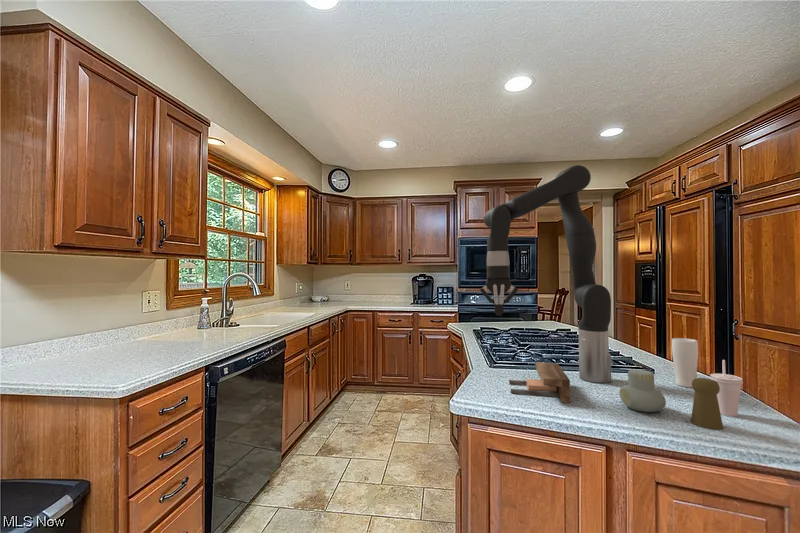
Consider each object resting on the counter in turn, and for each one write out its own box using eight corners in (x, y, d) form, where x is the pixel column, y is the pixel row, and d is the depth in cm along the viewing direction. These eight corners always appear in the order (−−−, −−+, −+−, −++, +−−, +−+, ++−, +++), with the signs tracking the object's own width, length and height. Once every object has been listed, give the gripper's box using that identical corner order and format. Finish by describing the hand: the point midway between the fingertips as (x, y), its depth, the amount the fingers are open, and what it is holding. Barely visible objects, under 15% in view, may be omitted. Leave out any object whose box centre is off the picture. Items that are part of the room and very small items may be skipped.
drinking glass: (699, 385, 117) (698, 339, 117) (698, 390, 112) (697, 342, 112) (674, 381, 121) (672, 337, 122) (671, 385, 116) (670, 339, 117)
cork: (729, 430, 83) (728, 383, 83) (700, 428, 84) (698, 382, 84) (712, 420, 89) (711, 376, 89) (685, 418, 90) (683, 375, 90)
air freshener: (670, 417, 91) (669, 378, 91) (634, 415, 92) (633, 376, 92) (648, 402, 102) (647, 367, 102) (616, 401, 103) (615, 366, 103)
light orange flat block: (552, 388, 115) (552, 380, 115) (556, 395, 108) (556, 387, 108) (526, 386, 117) (526, 378, 117) (528, 393, 110) (528, 385, 110)
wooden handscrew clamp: (557, 382, 121) (557, 363, 121) (570, 403, 101) (569, 380, 102) (508, 379, 125) (508, 360, 125) (511, 398, 105) (511, 376, 106)
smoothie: (704, 409, 96) (702, 357, 96) (726, 408, 96) (724, 356, 97) (728, 419, 89) (726, 363, 90) (751, 418, 90) (749, 362, 90)
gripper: (517, 264, 124) (518, 314, 124) (478, 265, 127) (479, 314, 127) (519, 264, 117) (520, 316, 116) (478, 265, 120) (479, 316, 119)
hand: (499, 315), depth 121 cm, fingers closed
